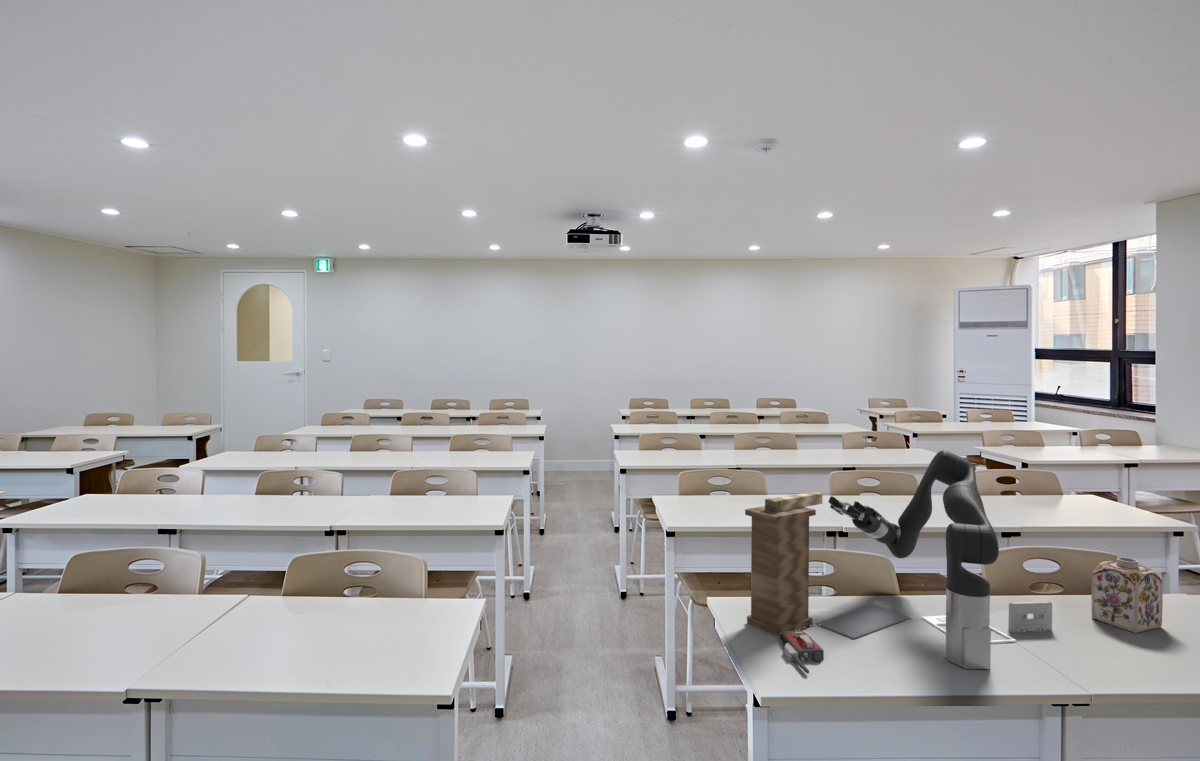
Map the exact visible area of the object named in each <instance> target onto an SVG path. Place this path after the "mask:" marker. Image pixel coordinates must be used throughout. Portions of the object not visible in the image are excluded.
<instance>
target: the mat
mask: <svg viewBox="0 0 1200 761" xmlns="http://www.w3.org/2000/svg"><path fill="white" fill-rule="evenodd" d="M910 619H911V616H909V615H906V614H903V613H900V612H897V611H895V610H892V609H888V608H886V607H883V606H881V605H877V604H874V603H871V604H869V605H865V606H861V607H860V608H856V609H853V610H850V611H848V612H847V611H846V612H845V613H841V614H838V615H835V616H833V617H829V618H827V619H823V620H821V621H818V622H816V623H817V624H820V625H821V626H820V627H822V626H823V627H822V628H824V627H825V628H824V629H827V628H828V629H827V630H829V629H830V630H829V631H832V630H833V631H832V632H834V631H835V633H836V634H839V633H840V634H839V635H841V634H842V636H844V637H847V638H850V639H852V640H857V639H859V638H862V637H864V636H867V635H870V634H873V633H875V632H878V631H881V630H883V629H886V628H888V627H891V626H893V625H894V626H895V625H897V624H900V623H902V622H905V621H908V620H910ZM817 624H816V625H817Z"/></svg>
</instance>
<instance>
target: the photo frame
mask: <svg viewBox="0 0 1200 761" xmlns="http://www.w3.org/2000/svg"><path fill="white" fill-rule="evenodd" d="M921 618H922V619H921ZM920 619H921V620H923V621H924V622H926V623H928V624H929V625H931V626H933V627H934V628H936V629H938V630H940V631H941V632H943V633H944V634H946V629H944V628H943V627H941V626H946V614H945V615H927V616H920ZM989 629H990V630H991V631H993V632H994V633H996V634H999V635H1000V636H1002V637H1003V636H1004V637H1003V638H1005V639H997V640H996V639H995V640H991V645H994V644H995V643H997V644H1007V643H1006V642H1013V643H1017V639H1015V638H1013V637H1011V636H1010V635H1008V634H1006V633H1004V632H1002V631H1000V630H999V629H997V628H995V627H993V626H991V625H989ZM995 645H996V644H995Z"/></svg>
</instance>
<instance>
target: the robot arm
mask: <svg viewBox="0 0 1200 761" xmlns="http://www.w3.org/2000/svg"><path fill="white" fill-rule="evenodd" d="M976 480H977V479H976V469H975V466H974V464H973V463H972V462H971V461H969V460H968V459H966V458H964V457H961V456H960V455H958V454H955V453H952V452H950V451H949V450H944V449H942V450H939V451H938V452H937V453H936V454H935V455H934V456H933V458H932V459H931V460H930V462H929V465H928V466H927V468H926V470H925V473H924V474H923V477H922V478H921V480H920V481H919V484H918V486H917V487H916V490H915V493H914V495H913V497H912V498H911V500H910V501H909V503H908V504H907V506H906V507H905V509H904V511H903V512H902V513H901V515H900V517H898V520H897V524H898V525H897V524H895V523H893V522H889V521H888V520H887V519H886V517H884V516H883V515H882V514H880V513H879V512H878V511H877V510H875V509H874V508H872V507H871V506H868V505H863V504H862V503H860V502H859V501H855V500H854V503H853V504H851V503H848V502H842V501H841V500H838V499H837V498H836V497H835V496H833V495H832V496H830V497H829V499H828V502H827V503H829V504H830V506H829V508H830V509H832V510H834V511H835V512H836V513H838V514H839V515H841V516H844V515H845V516H847V517H848V518H850V519H851V520H852V521H851V522H852V524H853V525H854V526H855V527H856V528H857V529H859V530H860V531H861V532H863V533H864V534H866V535H867V536H869V537H871V538H872V539H874V540H875V541H877V542H879V543H881V544H885V546H886V547H887V548H888V550H889V551H890V552H891V554H892V556H894V557H895V558H897V559H905V558H908V557H909V556H910V555H911V554H913V551H914V550H915V548H916V546H917V544H918V540H919V536H920V533H921V531H922V529H923V528H924V527H925V526H926V524H928V521H929V520H930V518H931V516H932V513H933V500H932V488H933V485H934V483H935V481H938V482H940V483H943V484H945V485H947V486H948V487H946V489H945V490H944V492H943V494H942V503H943V506H944V511H945V514H946V515H947V517H948V518H949V519H950V520H951V521H952V522H953V523H950V524H949V525H947V527H946V531H945V551H946V553H945V554H946V555H945V556H946V587H945V588H946V589H945V590H946V591H945V592H946V593H945V596H946V597H945V615H946V625H945V630H946V633H945V658H946V660H947V661H948V662H951V663H952V664H954V665H956V666H959V667H961V668H963V669H966V670H969V669H970V670H990V669H991V655H992V654H991V650H992V649H991V646H992V644H991V641H992V640H991V639H992V637H991V636H992V633H991V632H992V630H991V629H989V626H990V619H991V618H990V613H991V612H990V610H991V607H990V606H991V601H990V600H991V584H990V582H989V580H987V579H986V578H985V577H982V576H981V575H978V574H975V573H973V572H971V571H969V569H968V570H967V569H966V568H965V567H964V566H963V565H962V564H963V563H964V564H974V565H983V566H984V565H985V566H987V565H993V564H994V563H996V561H997V559H998V557H999V554H1000V550H999V549H1000V548H999V546H1000V545H999V540H998V537H997V534H996V532H995V530H994V528H993V526H992V524H991V523H990V520H989V519H988V517H987V514H986V511H985V510H986V509H985V506H984V502H983V499H982V497H981V495H980V491H979V488H978V485H977V481H976ZM846 507H847V509H846Z"/></svg>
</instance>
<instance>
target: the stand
mask: <svg viewBox="0 0 1200 761" xmlns="http://www.w3.org/2000/svg"><path fill="white" fill-rule="evenodd" d="M744 510H745V511H744V515H745V516H749V517H751V542H750V543H751V544H750V545H751V551H750V552H751V557H750V558H751V559H750V560H751V562H750V563H751V570H750V573H751V574H750V576H751V577H750V578H751V581H750V583H751V584H750V587H751V589H750V590H751V591H750V594H751V595H750V596H751V597H750V615H747V616H746V623H747V624H748V625H750V626H751V627H754V628H757V629H759V630H761V631H763V632H766V633H768V634H770V635H772V636H775V637H776V638H778V637H779V638H780V635H783V633H784V632H785V631H796V630H797V631H800V630H802V629H801V628H803V629H805V628H804V627H806V628H808V627H807V626H809V627H811V626H810V625H812V626H813V624H814V623H813V617H811V616H809V605H810V604H809V601H810V600H809V593H810V590H809V588H810V587H809V585H810V583H809V582H810V581H809V579H810V578H809V577H810V576H809V575H810V574H809V573H810V572H809V571H810V564H809V563H810V517H812V516H813V517H814V516H816V515H817V514H816V513H817V510H816V509H814V508H810V507H802V508H796V509H791V510H785V511H781V512H778V513H775V512H771V511H767V510H765V505H763V506H758V507H751V508H747V509H744ZM799 629H800V630H799Z"/></svg>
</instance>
